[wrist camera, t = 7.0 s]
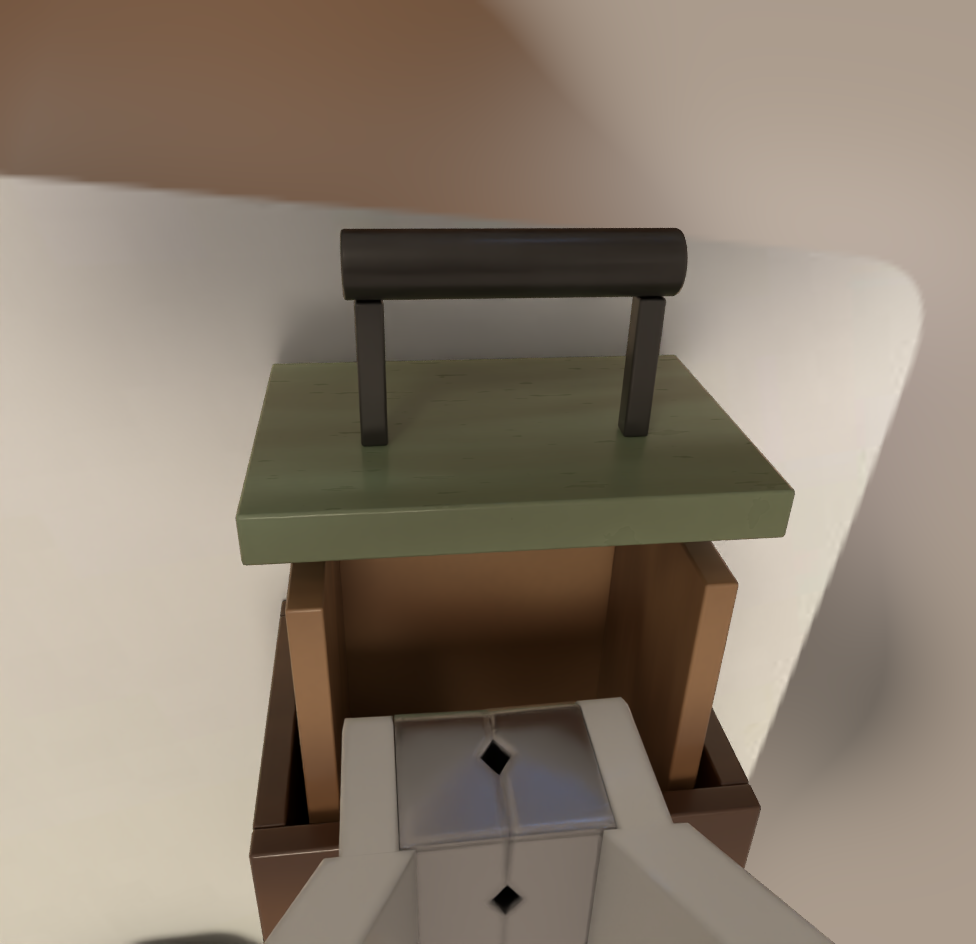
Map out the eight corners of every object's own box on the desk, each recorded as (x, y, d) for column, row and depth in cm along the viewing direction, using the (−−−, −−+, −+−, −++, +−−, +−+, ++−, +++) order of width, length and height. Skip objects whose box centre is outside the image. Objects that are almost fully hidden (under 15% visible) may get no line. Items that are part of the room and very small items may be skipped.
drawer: (252, 182, 20) (199, 273, 14) (701, 184, 22) (852, 266, 15) (309, 722, 29) (294, 938, 23) (624, 698, 31) (699, 894, 24)
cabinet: (281, 600, 28) (248, 857, 19) (649, 578, 29) (762, 807, 21) (314, 879, 35) (299, 1153, 27) (608, 849, 36) (680, 1099, 28)
